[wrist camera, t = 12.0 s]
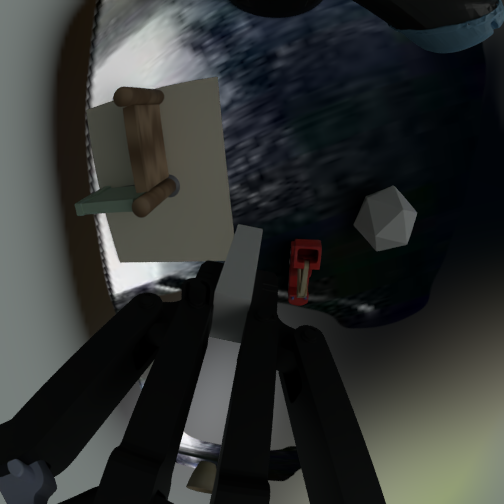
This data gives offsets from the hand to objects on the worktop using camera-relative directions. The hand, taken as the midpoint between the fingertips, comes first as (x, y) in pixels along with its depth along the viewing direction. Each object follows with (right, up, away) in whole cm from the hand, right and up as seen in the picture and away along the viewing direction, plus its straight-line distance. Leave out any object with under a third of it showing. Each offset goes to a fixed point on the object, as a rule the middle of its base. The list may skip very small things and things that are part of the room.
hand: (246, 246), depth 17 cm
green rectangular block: (-19, +9, +23) cm, 31 cm away
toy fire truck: (+8, -1, +27) cm, 28 cm away
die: (+19, +6, +21) cm, 29 cm away
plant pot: (-21, -101, +85) cm, 134 cm away
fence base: (-13, +16, +19) cm, 28 cm away
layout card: (-14, +10, +22) cm, 28 cm away
